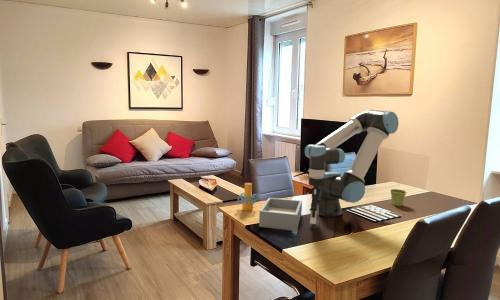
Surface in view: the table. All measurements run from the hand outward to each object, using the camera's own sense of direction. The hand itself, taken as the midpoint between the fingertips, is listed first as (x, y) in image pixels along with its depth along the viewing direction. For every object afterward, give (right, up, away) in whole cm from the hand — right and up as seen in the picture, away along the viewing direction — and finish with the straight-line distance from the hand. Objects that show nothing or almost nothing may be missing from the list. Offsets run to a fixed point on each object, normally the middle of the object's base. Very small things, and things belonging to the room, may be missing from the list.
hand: (313, 218), depth 181 cm
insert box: (-16, -2, +8) cm, 18 cm away
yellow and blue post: (-33, 0, +25) cm, 41 cm away
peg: (0, -4, +1) cm, 4 cm away
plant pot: (+58, 0, +42) cm, 72 cm away
